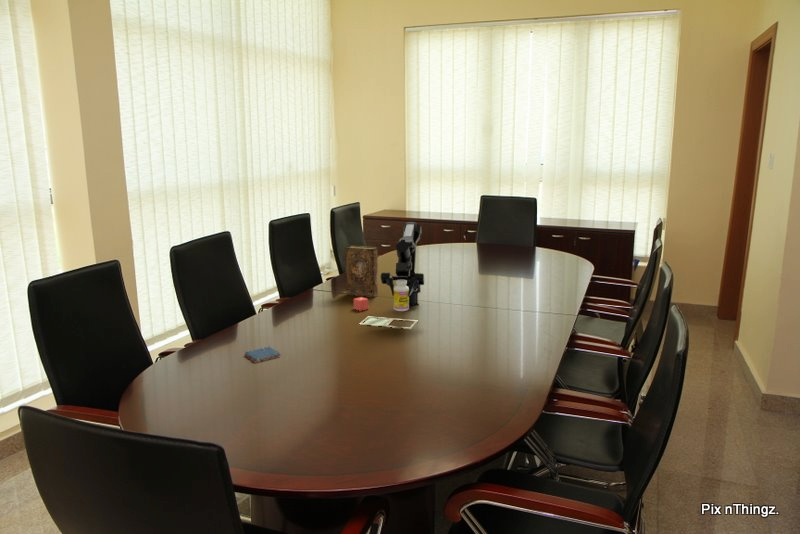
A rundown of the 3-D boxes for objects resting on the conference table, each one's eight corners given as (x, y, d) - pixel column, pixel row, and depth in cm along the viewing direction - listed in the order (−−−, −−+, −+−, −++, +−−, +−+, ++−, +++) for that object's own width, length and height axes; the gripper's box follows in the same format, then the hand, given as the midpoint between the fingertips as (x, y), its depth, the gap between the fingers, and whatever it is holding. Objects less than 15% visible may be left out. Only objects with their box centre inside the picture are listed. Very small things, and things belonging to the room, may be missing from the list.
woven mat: (243, 356, 228) (242, 351, 227) (269, 350, 234) (269, 345, 234) (254, 364, 220) (254, 359, 219) (281, 358, 226) (281, 353, 226)
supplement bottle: (398, 312, 259) (397, 283, 256) (391, 308, 265) (390, 279, 262) (411, 310, 262) (411, 281, 259) (404, 306, 268) (404, 278, 265)
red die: (362, 307, 291) (362, 295, 290) (368, 309, 288) (368, 297, 287) (353, 308, 288) (353, 297, 287) (359, 311, 285) (359, 299, 283)
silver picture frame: (418, 321, 268) (418, 320, 268) (410, 329, 257) (410, 328, 257) (368, 317, 275) (368, 316, 275) (359, 324, 264) (359, 323, 264)
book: (379, 295, 313) (378, 247, 308) (375, 297, 308) (374, 249, 303) (350, 292, 319) (349, 245, 314) (346, 294, 314) (344, 247, 309)
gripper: (380, 254, 263) (376, 285, 255) (423, 255, 261) (421, 286, 253) (384, 268, 273) (380, 298, 264) (425, 269, 270) (423, 299, 262)
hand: (400, 295), depth 261 cm, fingers closed on supplement bottle, 7 cm apart
